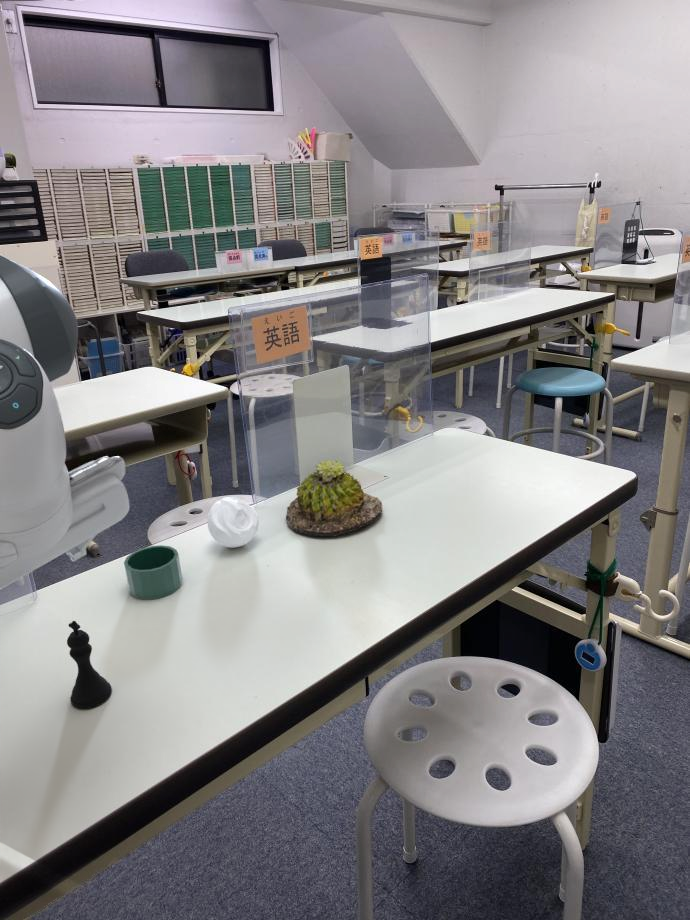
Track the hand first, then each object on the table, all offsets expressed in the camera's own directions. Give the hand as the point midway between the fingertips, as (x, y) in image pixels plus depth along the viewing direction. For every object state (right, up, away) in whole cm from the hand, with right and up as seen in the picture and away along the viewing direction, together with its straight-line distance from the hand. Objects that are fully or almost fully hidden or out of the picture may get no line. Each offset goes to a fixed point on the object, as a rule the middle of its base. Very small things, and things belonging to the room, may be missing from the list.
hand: (31, 578), depth 67 cm
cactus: (+29, +2, +49) cm, 57 cm away
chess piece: (+2, -15, +10) cm, 18 cm away
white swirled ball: (+13, -2, +41) cm, 44 cm away
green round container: (+4, -6, +31) cm, 32 cm away
